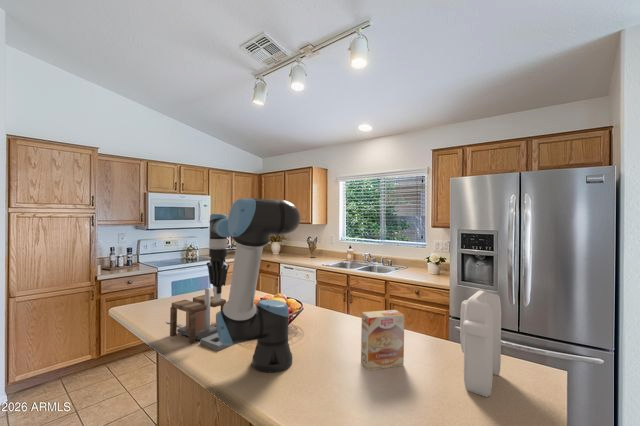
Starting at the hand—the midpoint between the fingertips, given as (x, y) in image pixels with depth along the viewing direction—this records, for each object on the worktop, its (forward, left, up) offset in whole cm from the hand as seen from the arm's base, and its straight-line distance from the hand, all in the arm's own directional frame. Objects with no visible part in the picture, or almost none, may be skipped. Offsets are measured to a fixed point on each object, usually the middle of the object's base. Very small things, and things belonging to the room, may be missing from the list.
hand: (217, 300), depth 138 cm
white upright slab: (-102, -29, -18) cm, 108 cm away
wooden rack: (+21, 0, -18) cm, 27 cm away
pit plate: (-4, 0, -18) cm, 18 cm away
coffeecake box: (-70, -21, -18) cm, 75 cm away
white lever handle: (+13, 0, -18) cm, 22 cm away
